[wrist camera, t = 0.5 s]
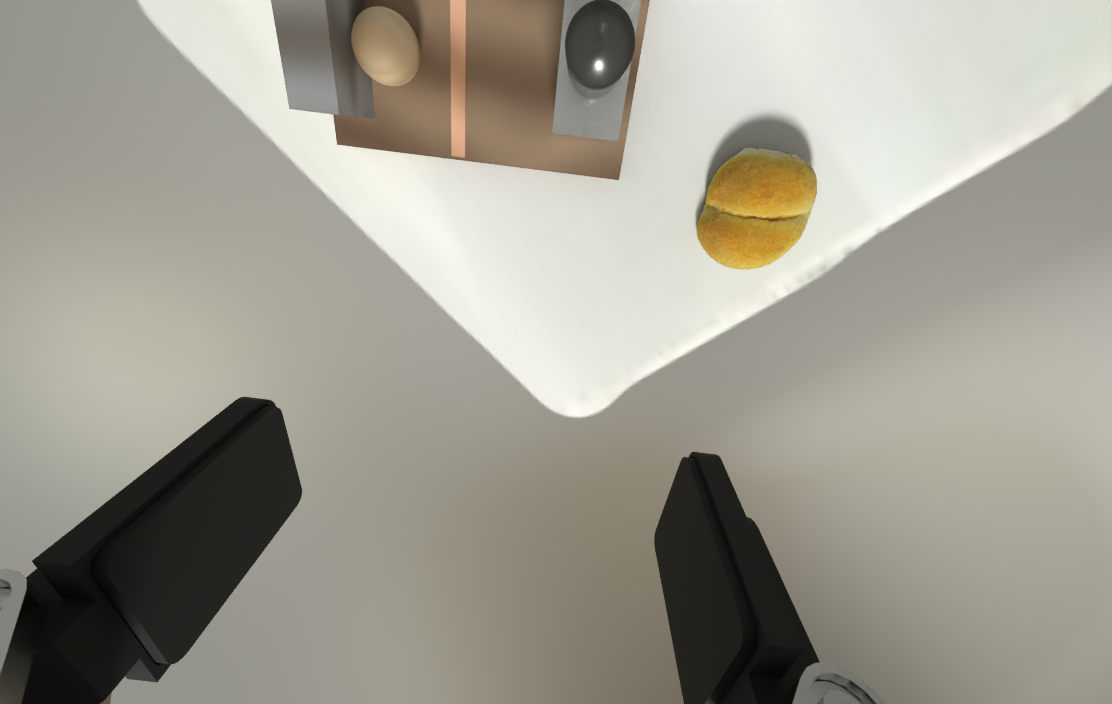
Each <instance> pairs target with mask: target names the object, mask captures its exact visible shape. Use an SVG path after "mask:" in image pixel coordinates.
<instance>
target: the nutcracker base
mask: <svg viewBox="0 0 1112 704" xmlns="http://www.w3.org/2000/svg"><path fill="white" fill-rule="evenodd" d="M649 1H650V0H641V5H640V11H639V17H638V23H637V30H636V36H635V49H634V54H633V57H632V60H631V66H630V72H629V78H628V85H627V91H626V97H625V103H624V109H623V115H622V121H621V127H620V133H619V139H618V141H610V140H602V139H595V138H587V137H579V136H571V135H563V134H555V133H552V129H553V118H554V108H555V97H556V87H557V76H558V65H559V55H560V44H561V34H562V23H563V13H564V2H565V0H271V3H272V9H273V15H274V20H275V26H276V32H277V38H278V44H279V50H280V56H281V61H282V67H283V73H284V79H285V85H286V91H287V97H288V103H289V108H290V109H295V110H303V111H311V112H319V113H327V114H333V115H334V123H335V131H336V139H337V145H345V146H353V147H361V148H369V149H377V150H385V151H393V152H401V153H409V154H417V155H425V156H433V157H441V158H449V159H456V160H464V161H472V162H480V163H488V164H496V165H504V166H512V167H520V168H528V169H536V170H544V171H552V172H560V173H568V174H576V175H584V176H591V177H599V178H607V179H615V180H619V176H620V170H621V164H622V158H623V152H624V147H625V141H626V135H627V129H628V123H629V117H630V112H631V106H632V100H633V94H634V88H635V82H636V77H637V71H638V65H639V59H640V53H641V47H642V42H643V36H644V30H645V24H646V18H647V12H648V7H649Z"/></svg>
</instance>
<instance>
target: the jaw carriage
mask: <svg viewBox="0 0 1112 704" xmlns="http://www.w3.org/2000/svg"><path fill="white" fill-rule="evenodd" d="M640 5H641V0H565V2H564V13H563V23H562V34H561V44H560V55H559V65H558V76H557V87H556V97H555V108H554V118H553V129H552V133H555V134H563V135H571V136H579V137H587V138H595V139H602V140H610V141H618V139H619V133H620V127H621V121H622V115H623V109H624V103H625V97H626V91H627V85H628V78H629V72H630V66H631V60H632V57H633V54H634V49H635V36H636V30H637V23H638V17H639V11H640Z"/></svg>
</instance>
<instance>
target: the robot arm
mask: <svg viewBox="0 0 1112 704" xmlns="http://www.w3.org/2000/svg"><path fill="white" fill-rule="evenodd" d="M301 495H302V488H301V484H300V480H299V476H298V472H297V469H296V465H295V461H294V457H293V453H292V449H291V446H290V442H289V438H288V434H287V430H286V426H285V423H284V419H283V415H282V412H281V410H280V409H279V408H277V407H276V406H275V403H274V402H273V401H270V400H265V399H258V398H250V397H241V398H239V399H237V400H235V401H234V402H233V403H232V404H230V405H229V406H228V407H227V408H225V409H224V410H223V411H222V412H220V413H219V414H218V415H216V416H215V417H214V418H213V419H211V420H210V421H209V422H208V423H206V424H205V425H204V426H203V427H201V428H200V429H199V430H198V431H196V432H195V433H194V434H192V435H191V436H190V437H189V438H187V439H186V440H185V441H183V442H182V443H181V444H180V445H179V446H177V447H176V448H175V449H173V450H172V451H171V452H170V453H168V454H167V455H166V456H164V457H163V458H162V459H161V460H159V461H158V462H157V463H156V464H155V465H153V466H152V467H151V468H149V469H148V470H147V471H145V472H144V473H143V474H142V475H140V476H139V477H138V478H137V479H135V480H134V481H133V482H132V483H130V484H129V485H128V486H127V487H125V488H124V489H123V490H121V491H120V492H119V493H118V494H116V495H115V496H114V497H112V498H111V499H110V500H109V501H107V502H106V503H105V504H104V505H102V506H101V507H100V508H99V509H97V510H96V511H95V512H94V513H92V514H91V515H90V516H88V517H87V518H86V519H85V520H83V521H82V522H81V523H80V524H78V525H77V526H76V527H75V528H74V529H72V530H71V531H69V532H68V533H67V534H66V535H65V536H63V537H62V538H61V539H59V540H58V541H57V542H55V543H54V544H53V545H52V546H51V547H49V548H48V549H47V550H45V551H44V552H43V553H42V554H40V555H39V556H38V557H36V558H35V559H34V560H33V561H32V562H33V563H34V565H35V566H36V567H37V569H36V570H35V571H34V572H32V573H31V574H30V575H29V576H28V577H24V575H23V574H21V572H18V571H14V570H9V569H4V570H0V704H110V702H111V694H112V691H113V690H114V689H115V687H116V686H117V685H118V684H119V682H120V681H121V680H122V679H123V678H124V676H126V678H127V679H133V680H143V681H151V682H158V681H159V679H160V678H161V677H162V676H163V674H164V673H165V672H166V670H167V669H168V668H169V666H170V665H171V664H174V663H176V662H178V661H179V660H180V659H182V658H183V657H184V656H185V655H186V653H187V652H188V651H189V650H190V648H191V647H192V646H193V644H194V643H195V642H196V640H197V639H198V637H199V636H200V635H201V634H202V632H203V631H204V630H205V628H206V627H207V625H208V624H209V623H210V622H211V620H212V619H213V618H214V616H215V615H216V613H217V612H218V611H219V610H220V608H221V607H222V605H223V604H224V603H225V601H226V600H227V599H228V597H229V596H230V594H231V593H232V592H233V591H234V589H235V588H236V587H237V585H238V584H239V583H240V581H241V580H242V579H243V577H244V576H245V575H246V573H247V572H248V571H249V569H250V568H251V567H252V565H253V564H254V563H255V561H256V560H257V559H258V557H259V556H260V555H261V553H262V552H263V551H264V549H265V548H266V547H267V545H268V544H269V543H270V541H271V540H272V539H273V537H274V536H275V535H276V533H277V532H278V531H279V529H280V528H281V526H282V525H283V524H284V522H285V521H286V520H287V518H288V517H289V516H290V514H291V513H292V512H293V510H294V509H295V507H296V506H297V505H298V503H299V501H300V499H301ZM654 540H655V541H654V542H655V543H654V544H655V551H656V556H657V562H658V567H659V572H660V578H661V583H662V588H663V594H664V599H665V604H666V610H667V614H668V620H669V625H670V631H671V636H672V642H673V646H674V652H675V658H676V663H677V668H678V673H679V679H680V684H681V689H682V695H683V700H684V704H885V703H884V701H883V700H882V699H881V698H880V696H879V695H878V694H877V693H876V692H875V691H874V690H873V689H872V688H871V687H870V686H869V685H868V684H866V683H865V682H864V681H863V680H862V679H861V678H860V677H858V676H856V675H855V674H853V673H851V672H850V671H848V670H847V669H845V668H843V667H840V666H837V665H834V664H831V663H820V662H819V660H818V658H817V655H816V653H815V651H814V649H813V646H812V645H811V643H810V640H809V638H808V636H807V633H806V631H805V629H804V627H803V625H802V622H801V620H800V618H799V616H798V614H797V612H796V610H795V607H794V605H793V603H792V601H791V599H790V596H789V594H788V592H787V590H786V588H785V586H784V583H783V581H782V579H781V577H780V574H779V572H778V570H777V568H776V566H775V563H774V562H773V559H772V557H771V555H770V553H769V550H768V548H767V546H766V544H765V542H764V540H763V537H762V535H761V533H760V531H759V529H758V527H757V525H756V524H755V522H754V521H753V520H752V519H751V518H748V517H746V515H745V512H744V510H743V508H742V506H741V503H740V501H739V499H738V497H737V494H736V492H735V490H734V488H733V486H732V483H731V481H730V478H729V477H728V474H727V472H726V469H725V467H724V465H723V463H722V460H721V458H720V457H719V456H718V455H715V454H707V453H699V452H692V453H691V454H690V456H689V457H688V458H687V457H683V458H682V460H681V462H680V465H679V467H678V470H677V473H676V476H675V478H674V481H673V484H672V487H671V490H670V492H669V495H668V498H667V501H666V504H665V506H664V509H663V512H662V515H661V517H660V520H659V523H658V526H657V529H656V531H655V538H654Z"/></svg>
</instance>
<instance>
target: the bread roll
mask: <svg viewBox="0 0 1112 704" xmlns="http://www.w3.org/2000/svg"><path fill="white" fill-rule="evenodd" d="M816 194H817V179H816V174H815V172H814V170H813V169H812V168H811V166H809V165H808V164H807V163H806V162H804V161H803V160H802V159H801V158H799V157H798V156H797V155H796V154H791V153H786V152H781V151H777V150H769V149H763V148H759V149H755V148H744V149H743V150H741V151H740V152H739V153H738V154H737V155H735V156H734V157H732V158H730V159H729V160H728V161H726V162H725V163H724V164H723V165H722V166H721V167H720V168H719V169H718V171H717V172H716V174H715V175H714V177H713V179H712V180H711V182H710V185H709V187H708V191H707V196H706V202H705V205H704V209H703V212H702V214H701V216H700V218H699V221H698V225H697V237H698V239H699V242H700V244H701V246H702V247H703V249H704V250H705V251H706V253H707V254H708V255H709V256H710V257H711V258H713V259H714V260H715V261H717V262H718V263H720V264H722V265H723V266H726V267H729V268H733V269H740V270H750V269H755V268H760V267H763V266H766V265H768V264H770V263H772V262H774V261H776V260H777V259H778V258H780V257H781V256H783V255H784V254H785V253H786V252H787V251H788V250H789V249H790V248H791V247H792V246H793V245H794V244H795V243H796V242H797V241H798V240H799V238H800V237H801V235H802V233H803V231H804V230H805V227H806V224H807V221H808V218H809V215H810V212H811V209H812V206H813V204H814V201H815V198H816Z"/></svg>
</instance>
